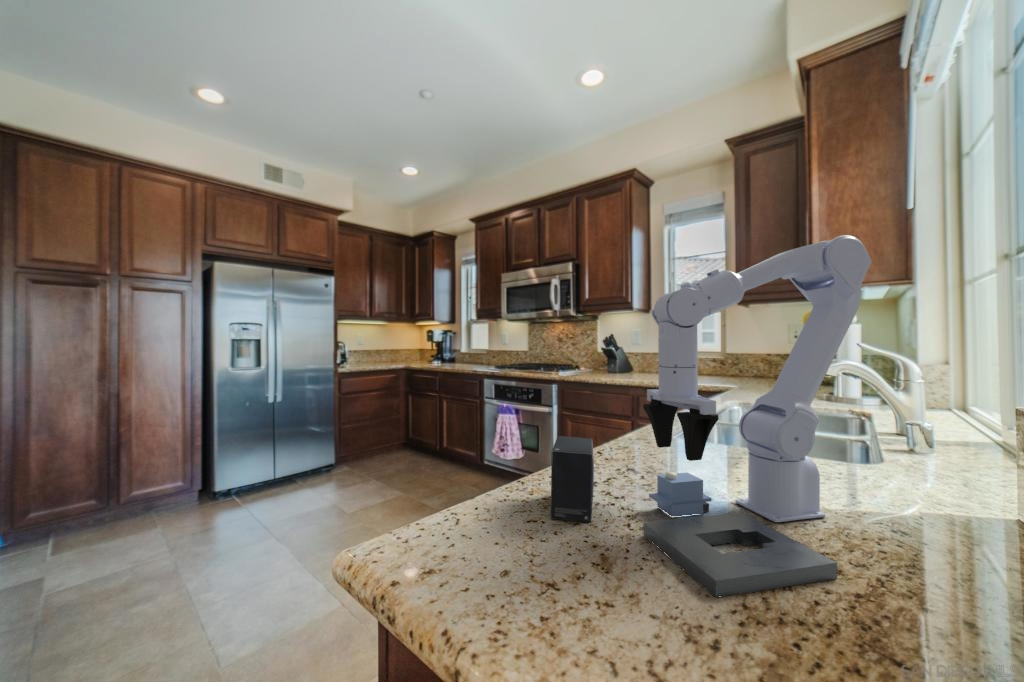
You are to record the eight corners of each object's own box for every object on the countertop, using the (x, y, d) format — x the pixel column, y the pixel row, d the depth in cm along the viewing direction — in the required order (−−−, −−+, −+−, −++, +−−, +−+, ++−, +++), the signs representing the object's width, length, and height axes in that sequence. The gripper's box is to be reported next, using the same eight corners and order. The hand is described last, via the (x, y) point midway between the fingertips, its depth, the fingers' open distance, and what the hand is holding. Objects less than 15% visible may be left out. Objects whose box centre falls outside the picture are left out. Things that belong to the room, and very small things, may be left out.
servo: (696, 504, 67) (696, 466, 67) (713, 513, 63) (713, 474, 63) (649, 509, 65) (649, 470, 65) (662, 519, 61) (662, 478, 61)
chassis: (741, 524, 60) (741, 512, 60) (837, 578, 46) (837, 562, 46) (643, 535, 56) (643, 522, 56) (715, 597, 42) (715, 580, 42)
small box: (593, 524, 59) (593, 453, 60) (549, 520, 61) (549, 450, 61) (593, 497, 70) (593, 436, 70) (556, 494, 71) (556, 435, 71)
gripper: (631, 364, 70) (631, 443, 70) (685, 370, 56) (685, 468, 56) (667, 364, 72) (667, 440, 72) (728, 369, 57) (729, 464, 57)
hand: (678, 452), depth 64 cm, fingers open, 7 cm apart
